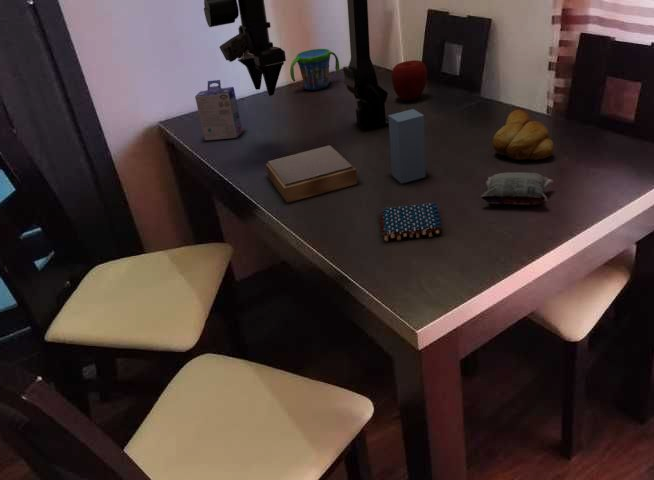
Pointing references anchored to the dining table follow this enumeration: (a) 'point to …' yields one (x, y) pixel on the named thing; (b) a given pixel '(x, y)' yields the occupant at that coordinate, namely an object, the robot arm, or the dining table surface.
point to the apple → (409, 79)
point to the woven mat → (410, 221)
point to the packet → (407, 145)
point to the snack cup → (314, 67)
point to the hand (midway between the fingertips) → (264, 92)
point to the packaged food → (516, 188)
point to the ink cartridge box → (218, 112)
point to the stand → (310, 173)
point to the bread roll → (523, 138)
